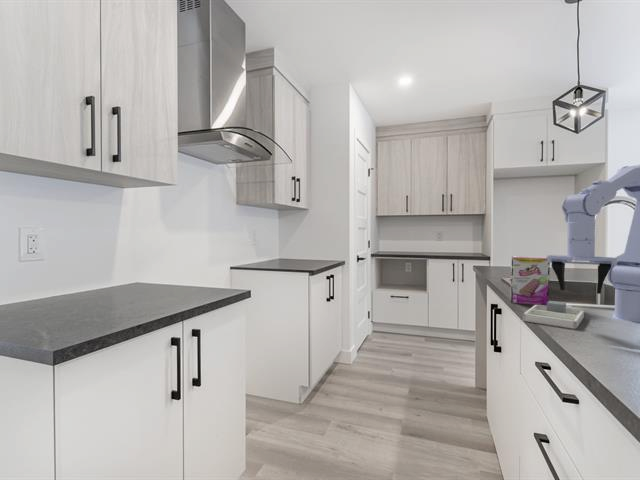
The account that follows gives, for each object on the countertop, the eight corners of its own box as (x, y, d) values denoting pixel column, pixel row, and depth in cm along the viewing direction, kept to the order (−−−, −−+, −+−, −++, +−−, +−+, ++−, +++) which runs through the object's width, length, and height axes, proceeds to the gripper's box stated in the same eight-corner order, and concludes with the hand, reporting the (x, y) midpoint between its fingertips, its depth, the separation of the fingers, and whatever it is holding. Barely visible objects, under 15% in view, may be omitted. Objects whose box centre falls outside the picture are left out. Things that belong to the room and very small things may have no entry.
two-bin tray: (535, 312, 107) (535, 304, 107) (583, 319, 99) (583, 310, 98) (522, 322, 96) (523, 313, 96) (576, 331, 88) (576, 321, 88)
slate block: (549, 313, 103) (549, 300, 102) (565, 316, 100) (565, 302, 100) (546, 316, 100) (546, 302, 100) (563, 318, 97) (563, 304, 97)
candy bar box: (510, 304, 118) (511, 257, 117) (510, 301, 122) (510, 255, 122) (549, 307, 113) (550, 257, 112) (547, 304, 117) (548, 256, 117)
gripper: (545, 240, 92) (544, 290, 92) (616, 240, 82) (616, 297, 83) (549, 239, 97) (549, 286, 98) (617, 239, 87) (617, 292, 88)
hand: (580, 291), depth 90 cm, fingers open, 7 cm apart
